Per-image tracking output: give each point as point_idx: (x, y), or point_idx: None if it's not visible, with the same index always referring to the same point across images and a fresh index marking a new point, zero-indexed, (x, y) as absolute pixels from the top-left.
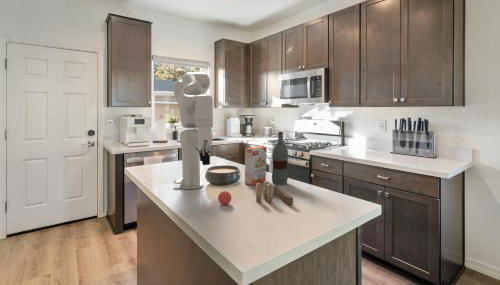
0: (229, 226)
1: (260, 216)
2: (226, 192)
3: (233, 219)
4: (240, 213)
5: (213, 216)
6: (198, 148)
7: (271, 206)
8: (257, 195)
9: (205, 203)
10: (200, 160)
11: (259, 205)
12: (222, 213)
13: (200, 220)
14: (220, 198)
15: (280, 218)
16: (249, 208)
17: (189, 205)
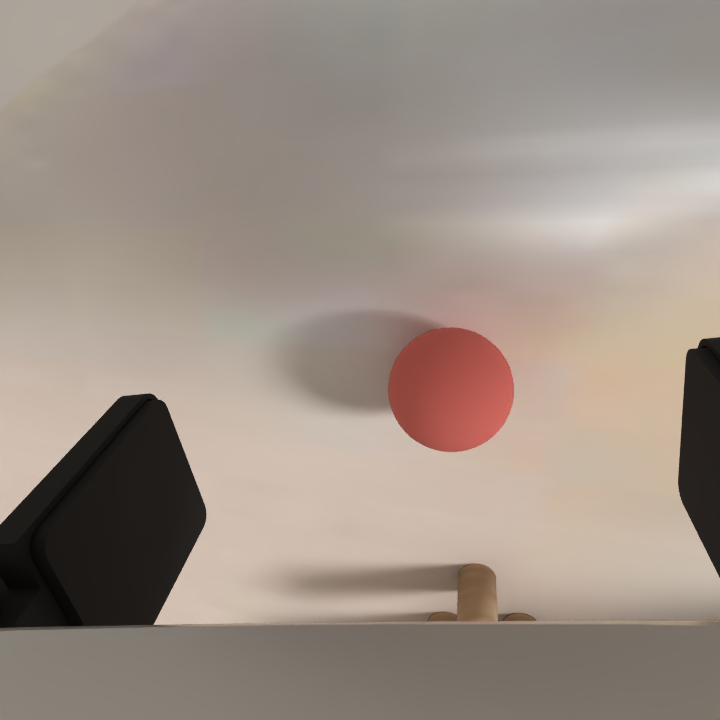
0: (43, 356)
1: (209, 529)
2: (428, 433)
3: (149, 388)
4: (252, 440)
5: (188, 264)
6: (47, 684)
7: (371, 614)
8: (461, 610)
9: (504, 192)
10: (690, 352)
11: (397, 564)
12: (249, 330)
13: (103, 167)
14: (405, 356)
15: (188, 602)
16: (343, 503)
17: (468, 17)
